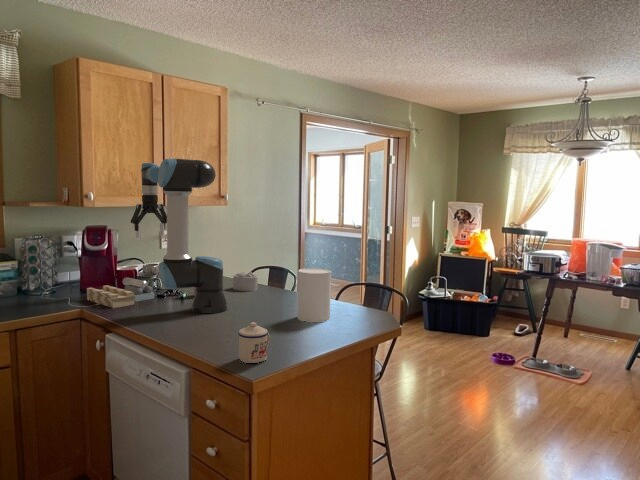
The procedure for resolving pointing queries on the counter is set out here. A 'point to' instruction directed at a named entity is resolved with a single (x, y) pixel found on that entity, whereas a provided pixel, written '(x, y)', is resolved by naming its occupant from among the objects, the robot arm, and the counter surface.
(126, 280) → the axle
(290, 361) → the counter surface
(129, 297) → the beige egg carton
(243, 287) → the lumpy-topped squat cylinder
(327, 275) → the canister
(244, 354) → the teacup with lid
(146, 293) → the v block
